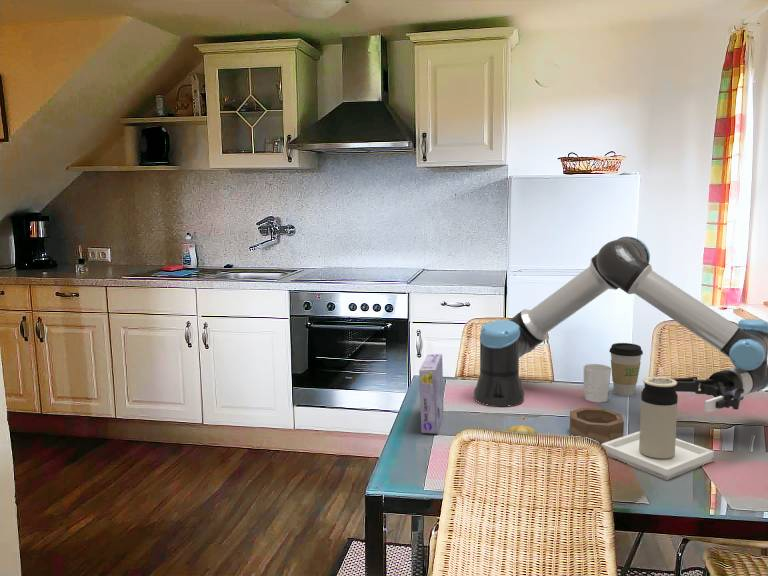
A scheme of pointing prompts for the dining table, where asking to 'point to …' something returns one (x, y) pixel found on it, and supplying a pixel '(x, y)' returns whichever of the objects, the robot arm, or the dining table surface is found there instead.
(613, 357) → the coffee cup
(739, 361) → the robot arm
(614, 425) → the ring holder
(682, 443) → the tray
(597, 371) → the white cup
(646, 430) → the travel mug
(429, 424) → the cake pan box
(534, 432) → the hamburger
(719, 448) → the dining table surface
